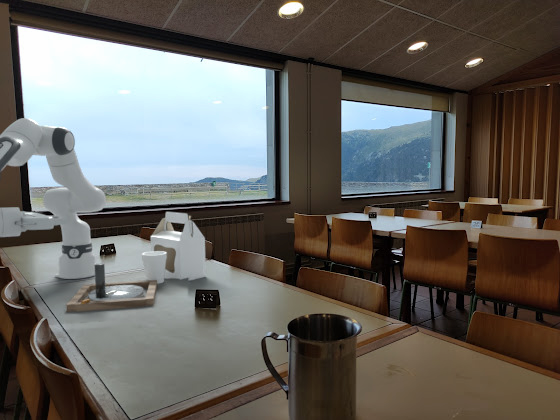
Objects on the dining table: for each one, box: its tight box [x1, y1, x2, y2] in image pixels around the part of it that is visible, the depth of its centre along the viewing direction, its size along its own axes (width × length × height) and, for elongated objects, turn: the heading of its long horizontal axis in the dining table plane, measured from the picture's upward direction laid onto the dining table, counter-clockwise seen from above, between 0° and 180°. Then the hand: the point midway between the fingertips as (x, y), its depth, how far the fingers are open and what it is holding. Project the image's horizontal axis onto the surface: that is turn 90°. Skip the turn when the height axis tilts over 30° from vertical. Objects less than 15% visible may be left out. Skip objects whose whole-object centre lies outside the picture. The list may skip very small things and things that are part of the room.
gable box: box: [150, 211, 207, 281], centre depth 180 cm, size 22×13×28 cm, turn 49°
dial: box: [87, 263, 145, 301], centre depth 143 cm, size 18×18×13 cm
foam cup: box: [141, 251, 167, 285], centre depth 165 cm, size 10×9×13 cm
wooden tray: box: [65, 279, 158, 313], centre depth 144 cm, size 26×26×4 cm
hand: (62, 219), depth 134 cm, fingers open, 8 cm apart
